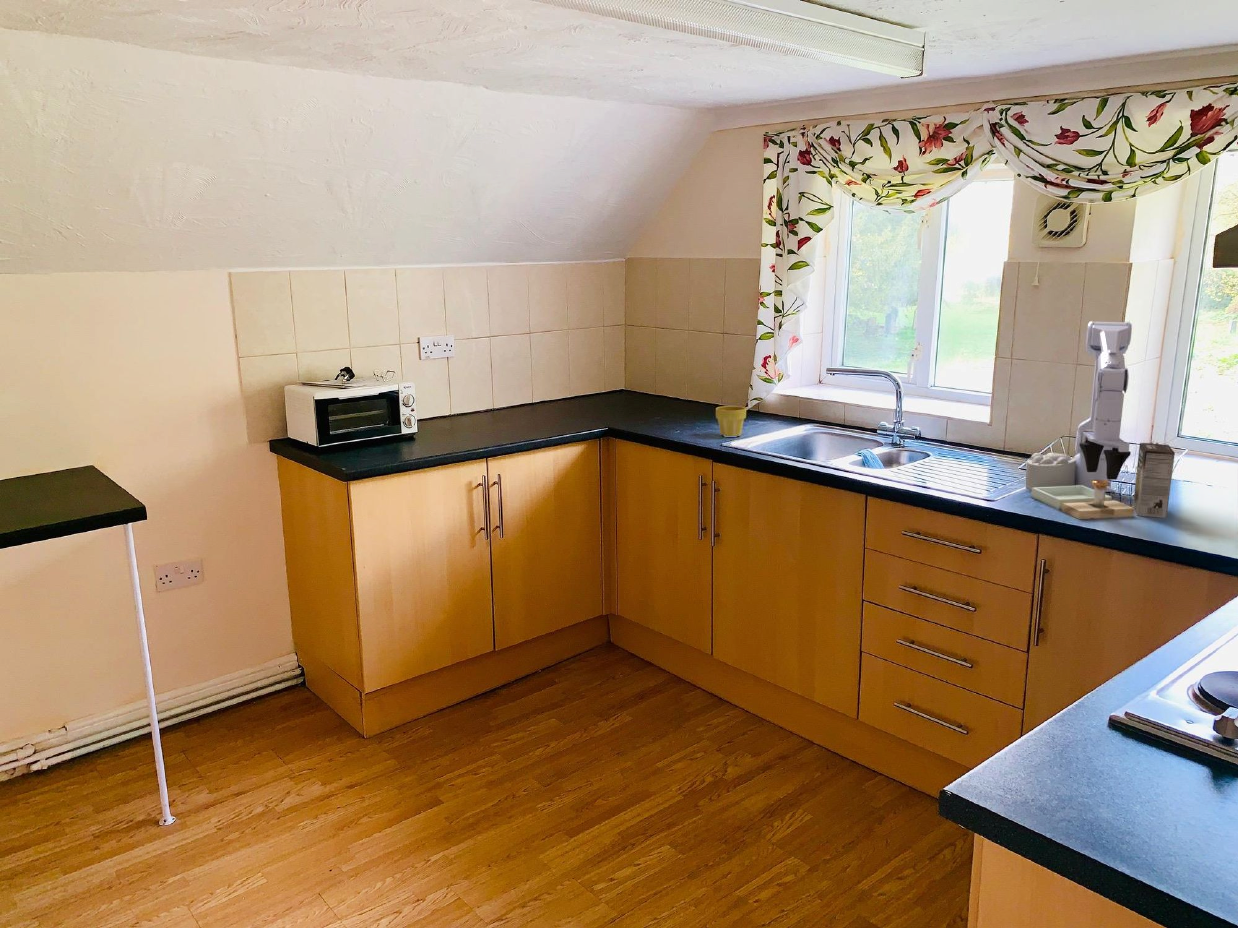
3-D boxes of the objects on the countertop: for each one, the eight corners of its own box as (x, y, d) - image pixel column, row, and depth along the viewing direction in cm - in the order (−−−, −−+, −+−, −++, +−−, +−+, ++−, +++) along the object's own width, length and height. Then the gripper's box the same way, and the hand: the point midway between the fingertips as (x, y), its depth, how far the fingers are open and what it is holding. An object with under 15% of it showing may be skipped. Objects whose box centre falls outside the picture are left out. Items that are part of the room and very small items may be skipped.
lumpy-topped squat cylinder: (1080, 486, 251) (1082, 454, 249) (1050, 494, 245) (1051, 462, 243) (1044, 479, 260) (1046, 448, 258) (1015, 487, 253) (1016, 456, 251)
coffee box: (1131, 506, 233) (1139, 442, 230) (1161, 508, 231) (1169, 444, 227) (1136, 515, 225) (1144, 449, 221) (1167, 518, 223) (1175, 451, 219)
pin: (1084, 511, 229) (1088, 479, 227) (1099, 511, 229) (1103, 479, 227) (1094, 516, 225) (1098, 483, 223) (1110, 515, 225) (1114, 483, 224)
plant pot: (710, 434, 327) (710, 406, 325) (738, 432, 330) (738, 404, 328) (722, 440, 318) (723, 411, 315) (750, 437, 321) (751, 409, 318)
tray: (1030, 497, 242) (1031, 487, 242) (1081, 494, 244) (1082, 485, 244) (1058, 509, 231) (1059, 499, 230) (1110, 506, 233) (1112, 497, 232)
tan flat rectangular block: (1061, 511, 229) (1062, 503, 229) (1114, 508, 231) (1115, 500, 231) (1079, 519, 223) (1080, 511, 222) (1133, 516, 225) (1134, 508, 224)
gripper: (1073, 414, 228) (1067, 469, 231) (1111, 425, 214) (1105, 483, 217) (1100, 413, 229) (1094, 468, 232) (1140, 424, 215) (1133, 482, 218)
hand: (1101, 475), depth 225 cm, fingers open, 7 cm apart
